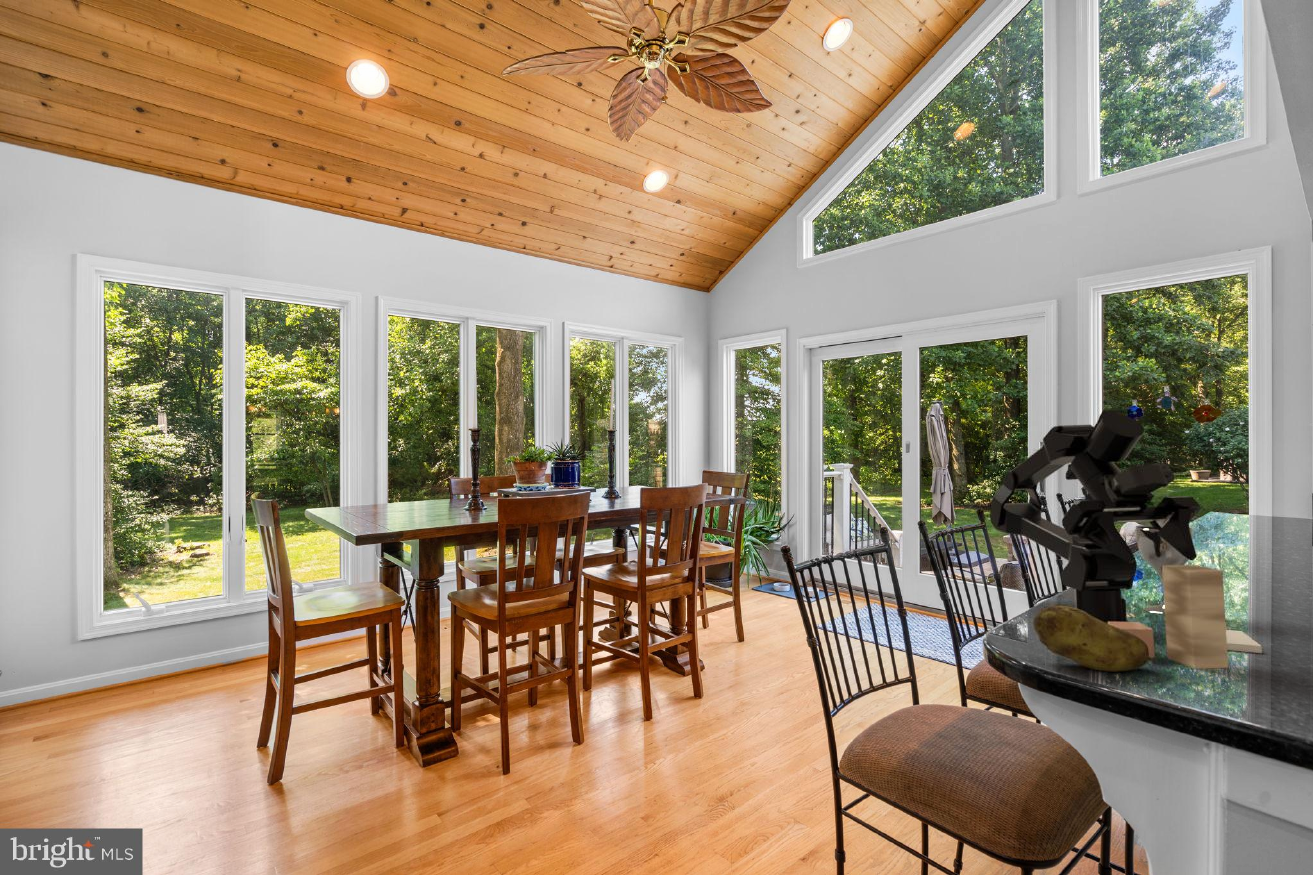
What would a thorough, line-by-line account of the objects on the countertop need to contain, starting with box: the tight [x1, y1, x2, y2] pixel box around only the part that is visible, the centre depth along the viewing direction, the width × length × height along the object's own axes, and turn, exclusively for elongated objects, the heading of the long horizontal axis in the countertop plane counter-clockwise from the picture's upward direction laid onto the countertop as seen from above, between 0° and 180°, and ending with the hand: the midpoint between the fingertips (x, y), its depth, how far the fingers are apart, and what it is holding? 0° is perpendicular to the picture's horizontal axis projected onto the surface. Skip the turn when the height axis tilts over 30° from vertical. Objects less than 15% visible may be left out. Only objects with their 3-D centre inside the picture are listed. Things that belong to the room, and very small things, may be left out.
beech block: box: [1162, 564, 1229, 670], centre depth 86 cm, size 4×4×13 cm
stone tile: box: [1226, 629, 1263, 654], centre depth 94 cm, size 8×8×1 cm
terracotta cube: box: [1108, 621, 1155, 658], centre depth 91 cm, size 4×4×4 cm
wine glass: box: [1135, 524, 1194, 616], centre depth 112 cm, size 8×8×15 cm
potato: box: [1032, 604, 1149, 672], centre depth 86 cm, size 8×13×8 cm, turn 51°
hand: (1163, 559), depth 92 cm, fingers open, 9 cm apart
